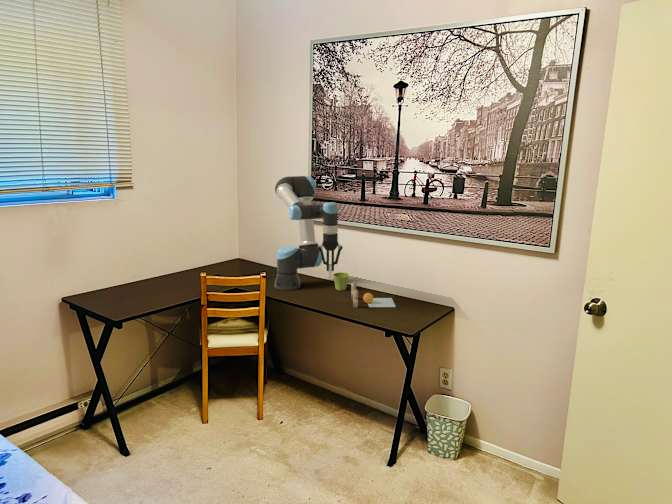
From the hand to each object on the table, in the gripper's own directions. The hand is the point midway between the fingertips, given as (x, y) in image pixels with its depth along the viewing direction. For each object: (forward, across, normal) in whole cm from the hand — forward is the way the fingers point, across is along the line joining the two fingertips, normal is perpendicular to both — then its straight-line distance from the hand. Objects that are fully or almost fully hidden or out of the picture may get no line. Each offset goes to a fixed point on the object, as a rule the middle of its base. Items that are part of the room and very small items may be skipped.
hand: (330, 277), depth 260 cm
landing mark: (+14, +27, 0) cm, 31 cm away
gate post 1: (+14, +13, +6) cm, 20 cm away
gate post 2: (+14, +13, -6) cm, 20 cm away
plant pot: (+15, +7, +24) cm, 29 cm away
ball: (+12, +20, 0) cm, 23 cm away
